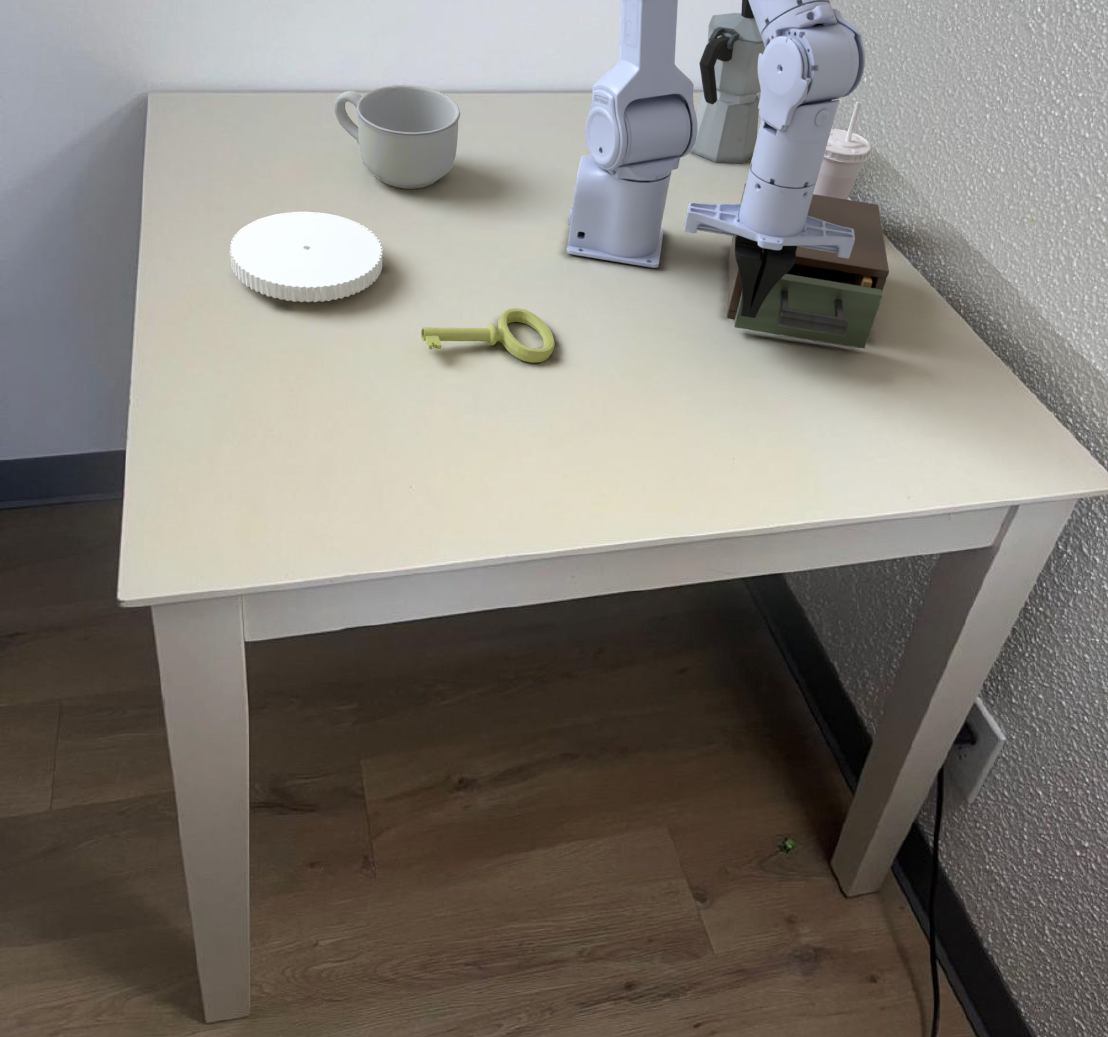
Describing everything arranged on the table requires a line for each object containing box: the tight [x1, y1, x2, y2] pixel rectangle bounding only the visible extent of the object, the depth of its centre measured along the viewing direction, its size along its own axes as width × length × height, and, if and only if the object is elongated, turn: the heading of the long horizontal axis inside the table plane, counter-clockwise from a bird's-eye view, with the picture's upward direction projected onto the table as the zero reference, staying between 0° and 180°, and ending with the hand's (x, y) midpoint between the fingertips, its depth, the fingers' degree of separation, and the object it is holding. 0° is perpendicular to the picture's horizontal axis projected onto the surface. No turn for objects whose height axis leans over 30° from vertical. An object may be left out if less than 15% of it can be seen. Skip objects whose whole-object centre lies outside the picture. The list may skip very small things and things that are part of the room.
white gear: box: [229, 210, 383, 303], centre depth 110 cm, size 14×14×2 cm
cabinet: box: [726, 182, 890, 320], centre depth 116 cm, size 14×14×8 cm
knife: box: [804, 271, 852, 284], centre depth 112 cm, size 8×2×3 cm, turn 107°
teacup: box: [333, 84, 461, 190], centre depth 126 cm, size 14×11×8 cm
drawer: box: [734, 264, 883, 349], centre depth 111 cm, size 18×12×6 cm
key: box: [420, 307, 556, 364], centre depth 104 cm, size 7×12×2 cm, turn 126°
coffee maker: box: [690, 0, 765, 164], centre depth 135 cm, size 15×9×18 cm, turn 144°
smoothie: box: [813, 100, 872, 200], centre depth 125 cm, size 6×6×14 cm
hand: (748, 311), depth 107 cm, fingers closed, pressing on drawer
